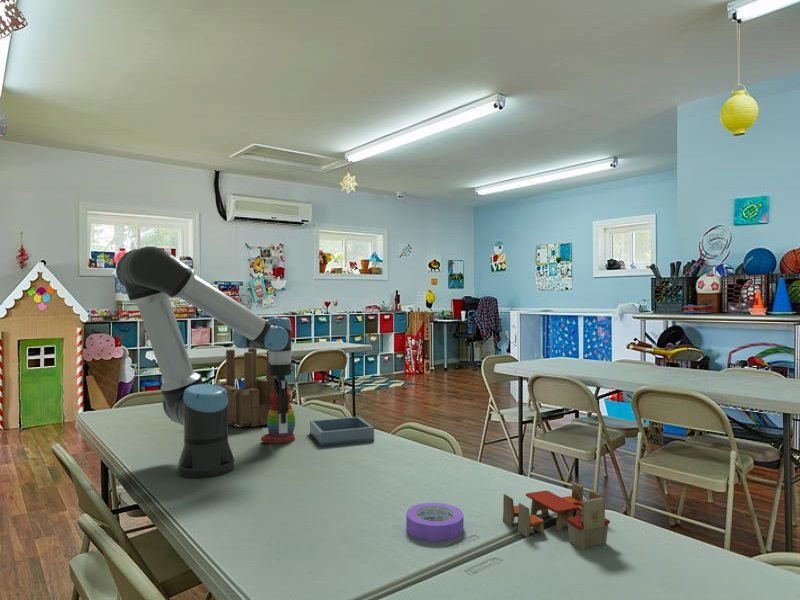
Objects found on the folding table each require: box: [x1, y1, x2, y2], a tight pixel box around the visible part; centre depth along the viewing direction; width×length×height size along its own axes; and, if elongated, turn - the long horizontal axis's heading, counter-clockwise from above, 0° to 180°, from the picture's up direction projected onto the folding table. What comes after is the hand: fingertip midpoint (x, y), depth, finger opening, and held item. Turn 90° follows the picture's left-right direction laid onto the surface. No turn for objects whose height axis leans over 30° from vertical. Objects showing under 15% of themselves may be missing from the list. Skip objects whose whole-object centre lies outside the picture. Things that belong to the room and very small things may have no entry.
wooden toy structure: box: [212, 348, 292, 428], centre depth 217 cm, size 23×30×27 cm
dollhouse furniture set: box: [502, 481, 611, 550], centre depth 109 cm, size 19×19×10 cm
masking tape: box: [405, 502, 465, 542], centre depth 110 cm, size 12×12×4 cm
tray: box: [309, 416, 375, 447], centre depth 185 cm, size 18×18×4 cm
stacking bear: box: [260, 387, 296, 444], centre depth 182 cm, size 11×10×18 cm
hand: (280, 429), depth 182 cm, fingers closed on stacking bear, 9 cm apart
